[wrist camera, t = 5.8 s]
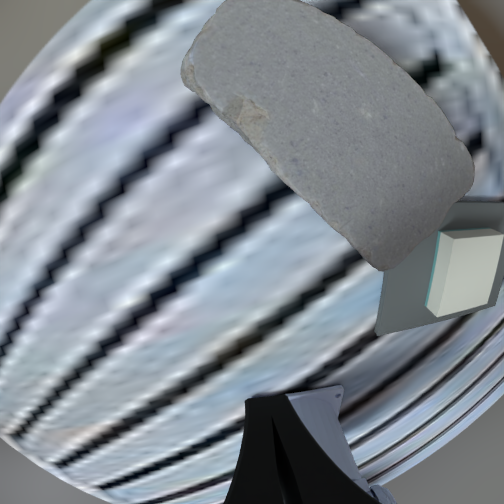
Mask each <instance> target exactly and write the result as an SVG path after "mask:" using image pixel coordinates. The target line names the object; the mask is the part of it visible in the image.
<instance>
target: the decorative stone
mask: <svg viewBox="0 0 504 504" xmlns="http://www.w3.org/2000/svg"><path fill="white" fill-rule="evenodd" d="M181 78H182V81H183V83H184V85H185V86H186V87H187V88H189V89H190V90H191V91H192V92H196V94H197V95H198V96H199V97H200V98H201V99H203V100H204V101H205V102H206V103H208V104H210V106H211V109H212V110H213V112H214V113H215V114H216V115H217V116H218V117H219V118H220V119H221V120H223V121H224V122H225V123H226V124H227V125H229V126H230V128H232V129H234V130H235V131H236V132H238V133H239V134H240V136H241V137H242V138H243V140H244V141H245V142H247V143H248V144H249V145H251V146H252V147H253V148H254V149H255V150H256V151H257V152H258V153H259V154H260V155H261V156H262V157H263V158H264V160H265V161H266V162H267V164H268V165H269V167H270V169H271V170H272V171H273V172H274V173H275V174H276V175H277V176H278V177H279V178H280V179H281V180H282V181H283V182H284V183H285V184H287V185H288V186H289V187H290V188H291V189H292V190H294V191H295V192H296V193H297V194H298V195H299V196H300V197H301V198H303V199H304V200H305V201H306V202H308V203H309V204H310V206H311V207H312V208H313V209H314V210H315V211H316V212H317V213H318V214H319V215H320V216H321V217H322V218H323V219H324V220H325V221H326V222H327V223H328V224H329V225H330V226H331V227H332V228H333V229H334V230H336V231H337V232H338V233H340V234H341V235H342V236H344V237H345V238H346V239H347V240H348V242H349V243H350V244H351V245H352V246H353V247H354V248H355V249H357V250H358V252H359V253H360V254H361V255H362V257H363V258H364V259H365V260H366V261H367V262H368V263H369V264H370V265H371V266H372V267H374V268H376V269H378V271H383V272H384V271H386V270H389V269H393V268H394V267H396V266H397V265H398V264H400V263H401V262H402V261H403V260H404V259H405V258H406V257H407V256H409V255H410V253H411V252H412V250H413V249H414V247H415V246H416V245H418V244H419V243H420V242H421V241H422V240H423V239H426V238H428V237H429V236H431V235H432V234H433V233H434V232H435V230H436V229H438V228H439V227H440V225H441V224H442V222H443V220H444V218H445V216H446V215H447V213H448V211H449V209H450V207H451V206H452V205H453V204H454V203H455V202H457V201H458V200H459V199H461V198H462V197H463V196H464V195H465V193H466V192H468V191H469V190H470V188H471V187H472V184H473V181H474V170H475V167H474V163H473V161H472V158H471V155H470V153H469V151H468V150H467V148H466V146H465V145H464V143H463V142H462V141H460V140H459V139H458V138H457V137H456V136H455V131H454V129H453V127H452V125H451V124H450V122H449V121H448V119H447V118H446V116H445V114H444V113H443V111H442V110H441V109H440V107H439V106H438V105H437V104H436V102H435V101H434V100H433V99H432V97H429V96H427V95H426V94H425V92H424V90H423V89H422V88H421V87H420V86H419V85H418V84H417V83H416V82H415V81H414V80H413V79H412V78H411V77H410V75H409V74H408V73H407V72H406V71H405V70H404V69H402V68H401V67H400V66H399V65H398V64H396V63H395V62H394V61H393V60H392V59H391V58H390V57H389V56H388V55H387V54H385V53H384V52H383V51H382V50H381V49H380V48H378V47H377V46H376V45H375V44H373V43H372V42H371V41H369V40H368V39H366V38H364V37H363V36H361V35H359V34H358V33H356V32H355V31H354V30H353V29H352V28H351V27H349V26H347V25H345V24H344V23H342V22H340V21H339V20H337V19H336V18H334V17H333V16H331V15H328V14H326V13H323V12H322V11H321V10H319V9H318V8H315V7H313V6H311V5H309V4H307V3H305V2H302V1H300V0H226V1H224V2H223V3H222V4H221V5H220V6H219V7H218V8H217V10H216V13H215V14H214V15H213V16H212V17H211V18H210V19H209V20H208V21H207V22H206V23H205V25H204V26H203V28H202V31H201V32H200V33H199V34H198V35H197V37H196V38H195V39H194V42H193V44H192V46H191V48H190V49H189V50H188V52H187V54H186V55H185V57H184V59H183V61H182V66H181Z"/></svg>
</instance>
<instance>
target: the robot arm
mask: <svg viewBox="0 0 504 504" xmlns="http://www.w3.org/2000/svg"><path fill="white" fill-rule="evenodd" d="M343 394H344V388H343V386H341V385H337V386H332V387H327V388H321V389H316V390H310V391H304V392H297V393H291V394H283V395H276V396H267V397H259V398H249V399H247V400H246V401H245V425H244V433H243V439H242V444H241V449H240V454H239V458H238V461H237V465H236V469H235V472H234V476H233V479H232V482H231V485H230V488H229V491H228V493H227V496H226V499H225V501H224V504H397V503H396V501H395V499H394V497H393V495H392V494H391V493H390V491H389V490H388V489H387V488H384V487H381V486H380V485H374V486H372V487H370V488H369V485H368V483H367V480H366V478H361V476H360V473H359V470H358V468H357V465H356V463H355V460H354V458H353V455H352V453H351V450H350V448H349V445H348V443H347V440H346V438H345V435H344V433H343V430H342V428H341V425H340V423H339V420H338V416H339V411H340V407H341V403H342V398H343Z"/></svg>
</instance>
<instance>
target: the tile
mask: <svg viewBox="0 0 504 504" xmlns="http://www.w3.org/2000/svg"><path fill="white" fill-rule="evenodd" d="M503 237H504V234H502V233H500V232H498V231H495V230H493V229H491V228H489V227H488V228H472V229H457V230H442V231H438V237H437V243H436V250H435V256H434V262H433V267H432V273H431V278H430V283H429V288H428V292H427V297H426V301H425V306H426V307H427V308H428V309H429V310H430V311H431V312H432V313H433V314H434V315H435V316H436V317H440V316H444V315H448V314H452V313H455V312H459V311H463V310H467V309H470V308H474V307H477V306H481V305H484V304H487V302H488V299H489V296H490V292H491V289H492V285H493V281H494V277H495V273H496V269H497V265H498V261H499V256H500V252H501V247H502V242H503Z"/></svg>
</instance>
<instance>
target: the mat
mask: <svg viewBox="0 0 504 504" xmlns="http://www.w3.org/2000/svg"><path fill="white" fill-rule="evenodd" d="M488 227H489V228H491V229H493V230H495V231H498V232H500V233H502V234H504V202H494V201H457V202H455V203H454V204H453V205H452V206H451V207H450V209H449V211H448V213H447V215H446V216H445V218H444V220H443V222H442V224H441V225H440V227H439V228H438V229H436V230H435V232H434V233H433V234H432V235H431V236H429V237H428V238H426V239H423V240H422V241H421V242H420V243H419V244H418V245H416V246H415V247H414V249H413V250H412V252H411V253H410V255H409V256H407V257H406V258H405V259H404V260H403V261H402V262H401V263H400V264H398V265H397V266H396V267H394V268H393V269H389V270H386V271H384V278H383V284H382V291H381V298H380V304H379V310H378V315H377V321H376V326H375V333H376V334H377V336H379V335H384V334H389V333H393V332H398V331H403V330H407V329H411V328H416V327H420V326H424V325H428V324H432V323H436V322H440V321H444V320H448V319H451V318H455V317H459V316H462V315H466V314H469V313H473V312H476V311H479V310H483V309H486V308H489V307H492V306H495V304H496V301H497V298H498V294H499V291H500V287H501V284H502V280H503V276H504V237H503V242H502V247H501V252H500V256H499V261H498V265H497V269H496V273H495V277H494V281H493V285H492V289H491V292H490V296H489V299H488V302H487V304H484V305H481V306H477V307H474V308H470V309H467V310H463V311H459V312H455V313H452V314H448V315H444V316H440V317H436V316H435V315H434V314H433V313H432V312H431V311H430V310H429V309H428V308H427V307H426V306H425V301H426V297H427V292H428V288H429V283H430V278H431V273H432V267H433V262H434V256H435V250H436V243H437V237H438V231H442V230H457V229H472V228H488Z"/></svg>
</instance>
